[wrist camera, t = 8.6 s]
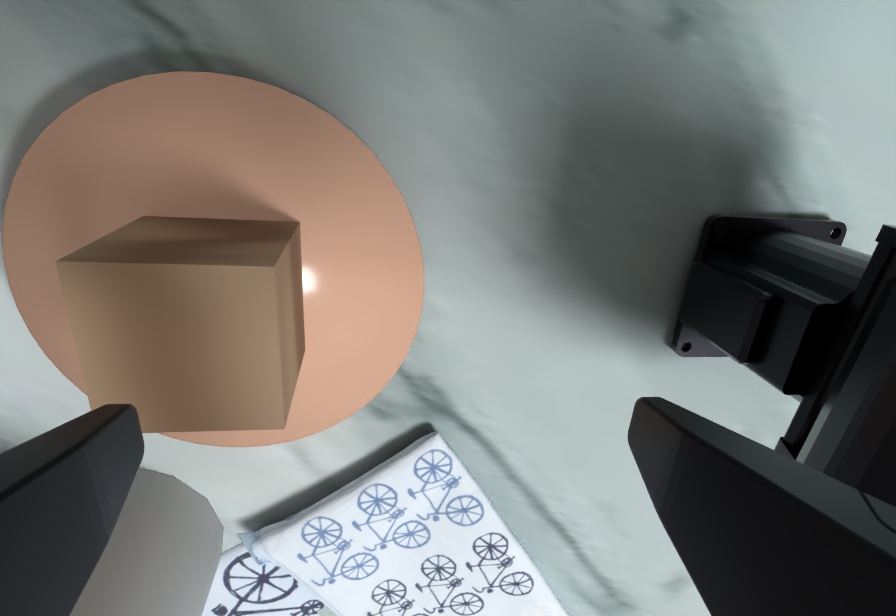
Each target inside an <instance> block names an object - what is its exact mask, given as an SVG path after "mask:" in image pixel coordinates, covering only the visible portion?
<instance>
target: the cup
mask: <svg viewBox="0 0 896 616" xmlns="http://www.w3.org/2000/svg"><path fill="white" fill-rule="evenodd" d="M223 529H224V528H223V526H222V524H221V522H220V521H219V519H218V517H217V515H216V514H215V512H214V510H213V508H212V506H211V505H210V503H209V501H208V499H207V498H205V497H204V496H202V495H201V494H199V493H198V492H196V491H195V490H193V489H192V488H190V487H189V486H187V485H186V484H184V483H183V482H181V481H180V480H178V479H177V478H175V477H174V476H171V475H167V474H162V473H158V472H154V471H150V470H146V469H142V468H139V469H138V471H137V474H136V476H135V479H134V481H133V484H132V486H131V489H130V491H129V494H128V496H127V499H126V501H125V504H124V506H123V509H122V511H121V514H120V516H119V519H118V521H117V524H116V526H115V528H114V531H113V533H112V535H111V538H110V540H109V542H108V544H107V546H106V548H105V550H104V552H103V554H102V556H101V558H100V560H99V562H98V564H97V565H96V567H95V569H94V571H93V573H92V575H91V577H90V579H89V580H88V582H87V584H86V586H85V588H84V590H83V592H82V594H81V595H80V597H79V599H78V601H77V603H76V605H75V607H74V609H73V610H72V612H71V614H70V616H202V613H203V610H204V607H205V604H206V601H207V598H208V595H209V592H210V589H211V586H212V582H213V579H214V576H215V573H216V570H217V567H218V564H219V561H220V558H221V552H222V540H223Z"/></svg>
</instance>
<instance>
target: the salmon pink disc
mask: <svg viewBox="0 0 896 616" xmlns="http://www.w3.org/2000/svg"><path fill="white" fill-rule="evenodd" d="M142 216H160V217H186V218H211V219H237V220H262V221H288V222H300V235H301V259H302V283H303V307H304V331H305V353H304V357H303V361H302V365H301V368H300V372H299V376H298V380H297V384H296V388H295V391H294V395H293V399H292V403H291V407H290V410H289V414H288V418H287V422H286V426H285V429H281V430H241V431H202V432H162V433H159V434H162V435H165V436H168V437H171V438H174V439H178V440H183V441H187V442H192V443H196V444H203V445H212V446H220V447H255V446H267V445H273V444H279V443H284V442H289V441H293V440H297V439H300V438H303V437H307V436H310V435H313V434H315V433H318V432H320V431H322V430H325V429H327V428H329V427H332V426H334V425H335V424H337V423H339V422H341V421H342V420H344V419H346V418H348V417H349V416H351V415H352V414H354V413H355V412H356V411H358V410H359V409H360V408H362V407H363V406H365V405H366V404H367V403H368V402H369V401H370V400H372V399H373V398H374V397H375V396H376V395H377V394H378V393H379V392H380V391H381V390H382V389H383V388H384V387H385V385H386V384H387V383H388V382H389V380H390V379H391V378H392V377H393V375H394V374H395V373H396V372H397V370H398V368H399V367H400V365H401V363H402V362H403V360H404V358H405V357H406V355H407V353H408V351H409V349H410V346H411V344H412V342H413V339H414V337H415V335H416V331H417V327H418V324H419V320H420V317H421V312H422V304H423V297H424V266H423V259H422V252H421V246H420V242H419V239H418V235H417V232H416V228H415V225H414V221H413V218H412V216H411V213H410V211H409V209H408V207H407V204H406V202H405V200H404V198H403V195H402V193H401V192H400V190H399V188H398V187H397V185H396V183H395V182H394V180H393V178H392V177H391V175H390V173H389V172H388V170H387V169H386V168H385V167H384V165H383V164H382V163H381V162H380V160H379V159H378V158H377V156H376V155H375V154H374V153H373V151H372V150H371V149H370V148H369V147H368V146H367V145H366V144H365V143H364V142H363V141H362V140H361V139H360V138H359V137H358V136H357V135H356V134H354V133H353V132H352V131H351V130H350V129H349V128H347V127H346V126H345V125H344V124H342V123H341V122H340V121H338V120H337V119H336V118H334V117H333V116H332V115H330V114H329V113H328V112H326V111H324V110H322V109H321V108H319V107H317V106H316V105H314V104H312V103H311V102H309V101H307V100H305V99H304V98H302V97H299V96H297V95H295V94H292V93H290V92H288V91H285V90H283V89H281V88H278V87H276V86H273V85H269V84H266V83H262V82H259V81H256V80H252V79H249V78H245V77H238V76H232V75H225V74H219V73H212V72H185V71H175V72H166V73H158V74H150V75H143V76H140V77H136V78H133V79H129V80H125V81H122V82H118V83H114V84H112V85H110V86H108V87H106V88H103V89H101V90H99V91H97V92H95V93H92V94H90V95H88V96H86V97H85V98H83V99H82V100H80V101H79V102H77V103H76V104H74V105H73V106H71V107H70V108H68V109H67V110H65V111H64V112H62V113H61V114H60V115H59V116H58V117H57V118H56V119H55V120H54V121H53V122H52V123H51V124H49V125H48V126H47V127H46V128H45V129H44V130H43V131H42V132H41V133H40V135H39V136H38V138H37V139H36V140H35V142H34V143H33V144H32V146H31V147H30V148H29V150H28V151H27V152H26V154H25V155H24V157H23V159H22V161H21V163H20V165H19V167H18V169H17V171H16V173H15V175H14V177H13V180H12V183H11V187H10V190H9V194H8V197H7V200H6V204H5V211H4V220H3V228H2V238H3V258H4V263H5V268H6V273H7V278H8V283H9V286H10V289H11V291H12V294H13V297H14V300H15V303H16V305H17V308H18V310H19V312H20V314H21V316H22V318H23V320H24V322H25V324H26V326H27V328H28V329H29V331H30V333H31V335H32V336H33V337H34V339H35V340H36V342H37V343H38V345H39V346H40V348H41V349H42V350H43V352H44V353H45V355H46V356H47V357H48V358H49V359H50V360H51V361H52V363H53V364H54V365H55V366H56V367H57V368H58V369H59V370H60V372H61V373H62V374H63V375H64V376H65V377H67V378H68V379H69V380H70V381H71V382H72V383H73V384H74V385H75V386H77V387H78V388H79V389H80V390H81V391H82V392H83V393H85V394H86V395H87V391H86V387H85V382H84V378H83V374H82V370H81V366H80V362H79V357H78V353H77V349H76V345H75V341H74V336H73V332H72V328H71V324H70V320H69V315H68V311H67V307H66V303H65V299H64V295H63V290H62V286H61V282H60V278H59V274H58V269H57V265H56V261H57V260H59V259H61V258H63V257H65V256H67V255H69V254H71V253H72V252H74V251H76V250H78V249H80V248H82V247H84V246H86V245H88V244H90V243H92V242H94V241H96V240H98V239H100V238H102V237H103V236H105V235H107V234H109V233H111V232H113V231H115V230H117V229H119V228H121V227H123V226H125V225H127V224H129V223H131V222H133V221H134V220H136V219H138V218H140V217H142Z"/></svg>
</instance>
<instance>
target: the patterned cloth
mask: <svg viewBox="0 0 896 616" xmlns="http://www.w3.org/2000/svg"><path fill="white" fill-rule="evenodd" d="M237 535H238V537H239V538H240V540H241V541H242V543H240V544H238V545H237V546H235V547H233V548H231V549H229V550H228V551H226V552H224V553H222V554H221V558H220V561H219V564H218V567H217V570H216V573H215V576H214V579H213V582H212V586H211V589H210V592H209V595H208V598H207V601H206V604H205V607H204V610H203V613H202V616H320V615H319V614H318V613H317V612H316V611H318V610H320V609H322V608H323V606H324V605H325V606H327V607H328V608H329V609H330V610H331V611H333V612H334V613H335V614H336V615H337V616H569V615H568V614H567V612H566V611H565V609H564V608H563V606H562V605H561V604H560V602H559V601H558V599H557V598H556V596H555V595H554V593H553V592H552V590H551V589H550V587H549V586H548V584H547V582H546V581H545V579H544V578H543V576H542V575H541V573H540V572H539V570H538V569H537V567H536V566H535V564H534V563H533V562H532V560H531V559H530V557H529V556H528V555H527V553H526V552H525V551H524V549H523V548H522V546H521V545H520V544H519V543H518V541H517V540H516V539H515V537H514V536H513V535H512V533H511V532H510V530H509V529H508V527H507V526H506V524H505V523H504V522H503V520H502V519H501V517H500V516H499V515H498V513H497V512H496V510H495V509H494V508H493V506H492V505H491V503H490V502H489V500H488V499H487V497H486V496H485V494H484V493H483V491H482V490H481V488H480V487H479V485H478V484H477V482H476V481H475V480H474V479H473V477H472V476H471V475H470V474H469V472H468V471H467V469H466V468H465V467H464V465H463V464H462V463H461V461H460V460H459V459H458V457H457V456H456V455H455V454H454V452H453V451H452V450H451V449H450V447H449V446H448V445H447V444H446V442H445V441H444V440H443V438H442V437H441V435H440V434H439V433H438V432H435V431H434V432H432V433H430V434H428V435H425V436H423V437H421V438H419V439H418V440H416V441H414V442H413V443H412V444H410V445H409V446H408V447H407V448H405V449H404V450H402V451H401V452H399V453H397V454H396V455H394V456H393V457H391V458H389V459H388V460H386V461H384V462H383V463H381V464H380V465H378V466H376V467H375V468H373V469H371V470H370V471H368V472H367V473H365V474H364V475H362V476H360V477H359V478H357V479H355V480H354V481H352V482H350V483H349V484H347V485H345V486H344V487H342V488H341V489H339V490H337V491H336V492H334V493H332V494H331V495H329V496H327V497H326V498H324V499H322V500H320V501H318V502H316V503H315V504H313V505H311V506H309V507H307V508H305V509H304V510H302V511H300V512H298V513H296V514H294V515H292V516H290V517H288V518H287V519H285V520H283V521H281V522H278V523H274V524H271V525H268V526H266V527H263V528H262V529H261V530H258V531H252V532H246V533H238V534H237Z"/></svg>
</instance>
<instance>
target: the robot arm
mask: <svg viewBox="0 0 896 616" xmlns="http://www.w3.org/2000/svg"><path fill="white" fill-rule="evenodd" d="M719 223H720V228H719V230H717V231H716V232H715V228H716V226H717V225H718V224H719ZM832 230H833V232H832ZM846 230H847V229H846V225H845V224H844V223H842V222H838V221H834V220H823V219H803V218H783V217H763V216H743V215H722V214H717V215H713V216H711V217H709V219H708V220H707V221H706V222H705V225H704V228H703V231H702V235H701V238H700V242H699V246H698V249H697V253H696V257H695V260H694V264H693V266H692V269H691V273H690V276H689V280H688V283H687V287H686V291H685V294H684V298H683V302H682V305H681V309H680V313H679V318H678V322H677V325H676V329H675V333H674V336H673V340H672V345H671V347H672V350H673V351H675V352H676V353H677V354H678V355H679V356H682V357H731V358H732V359H733V360H735V361H736V362H738V363H740V364H743V365H744V366H746V367H747V368H749V369H750V370H751V371H753V372H754V373H756V374H757V375H758V376H760V377H761V378H762V379H764V380H765V381H767V382H768V383H769V384H771V385H772V386H774V387H775V388H776V389H778V390H779V391H781V392H782V393H783V394H786V395H790V396H792V397H793V398H795V399H796V400H797V401H799V402H800V405H799V407H798V409H797V411H796V413H795V415H794V417H793V419H792V421H791V423H790V425H789V427H788V429H787V432H786V434H785V436H784V437H780V439H779V441H778V443H777V445H776V447H775V449H774V450H775V451H774V450H772V449H770V448H768V447H766V446H764V445H762V444H759V443H757V442H755V441H753V440H751V439H749V438H747V437H744V436H742V435H740V434H738V433H736V432H734V431H732V430H729V429H727V428H725V427H723V426H721V425H719V424H717V423H714V422H712V421H710V420H708V419H706V418H704V417H702V416H699V415H697V414H695V413H693V412H691V411H689V410H687V409H684V408H682V407H680V406H678V405H676V404H674V403H672V402H669V401H667V400H665V399H663V398H661V397H641V398H639V399H638V400H637V401H636V403H635V406H634V410H633V414H632V418H631V422H630V426H629V430H628V443H629V446H630V449H631V451H632V454H633V456H634V459H635V461H636V463H637V466H638V468H639V471H640V473H641V476H642V478H643V481H644V483H645V485H646V488H647V490H648V493H649V495H650V498H651V500H652V503H653V505H654V507H655V509H656V512H657V514H658V516H659V518H660V520H661V522H662V524H663V526H664V528H665V530H666V532H667V534H668V536H669V537H670V539H671V541H672V543H673V545H674V547H675V549H676V550H677V552H678V554H679V556H680V558H681V560H682V562H683V564H684V565H685V567H686V569H687V571H688V573H689V575H690V577H691V579H692V580H693V582H694V584H695V586H696V588H697V590H698V592H699V594H700V595H701V597H702V599H703V601H704V603H705V605H706V607H707V609H708V610H709V612H710V614H711V616H896V226H892V225H884V224H883V226H882V228H881V230H880V232H879V234H878V236H877V238H876V240H875V241H877V242H878V245H877V247H876V249H875V251H874V253H873V255H872V256H871V255H867V254H864V253H861V252H858V251H855V250H852V249H848V248H845V247H842V246H841V245H842V242H843V240H844V237H845V234H846ZM831 232H832V234H831V235H830V233H831ZM686 342H687V343H686ZM684 343H686V345H685V346H684V347H683V348H681V347H682V345H683V344H684ZM143 455H144V440H143V436H142V431H141V426H140V421H139V416H138V412H137V409H136V408H135V406H133V405H132V404H106V405H103V406H101V407H99V408H96V409H94V410H92V411H90V412H88V413H86V414H84V415H82V416H79V417H77V418H75V419H73V420H71V421H69V422H67V423H65V424H62V425H60V426H58V427H56V428H54V429H52V430H50V431H48V432H45V433H43V434H41V435H39V436H37V437H35V438H33V439H31V440H28V441H26V442H24V443H22V444H20V445H18V446H16V447H14V448H11V449H9V450H7V451H5V452H3V453H1V454H0V616H70V614H71V612H72V610H73V609H74V607H75V605H76V603H77V601H78V599H79V597H80V595H81V594H82V592H83V590H84V588H85V586H86V584H87V582H88V580H89V579H90V577H91V575H92V573H93V571H94V569H95V567H96V565H97V564H98V562H99V560H100V558H101V556H102V554H103V552H104V550H105V548H106V546H107V544H108V542H109V540H110V538H111V535H112V533H113V531H114V528H115V526H116V524H117V521H118V519H119V516H120V514H121V511H122V509H123V506H124V504H125V501H126V499H127V496H128V494H129V491H130V489H131V486H132V484H133V481H134V479H135V476H136V474H137V471H138V469H139V466H140V464H141V461H142V458H143Z"/></svg>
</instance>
